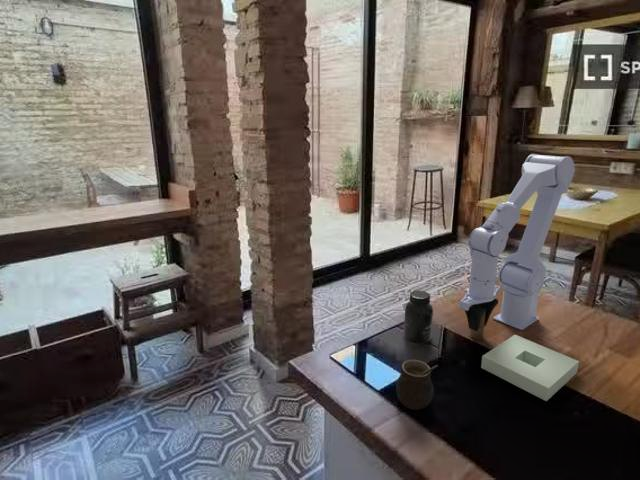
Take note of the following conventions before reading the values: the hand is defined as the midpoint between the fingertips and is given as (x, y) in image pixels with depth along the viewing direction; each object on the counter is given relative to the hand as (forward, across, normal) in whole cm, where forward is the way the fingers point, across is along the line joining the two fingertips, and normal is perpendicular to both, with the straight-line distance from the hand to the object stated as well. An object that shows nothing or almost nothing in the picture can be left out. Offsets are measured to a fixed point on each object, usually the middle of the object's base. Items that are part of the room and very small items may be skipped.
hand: (477, 326), depth 100 cm
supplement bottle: (+3, +12, -9) cm, 15 cm away
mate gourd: (+3, +31, +6) cm, 32 cm away
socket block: (+3, +4, +15) cm, 16 cm away
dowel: (+3, 0, 0) cm, 3 cm away
